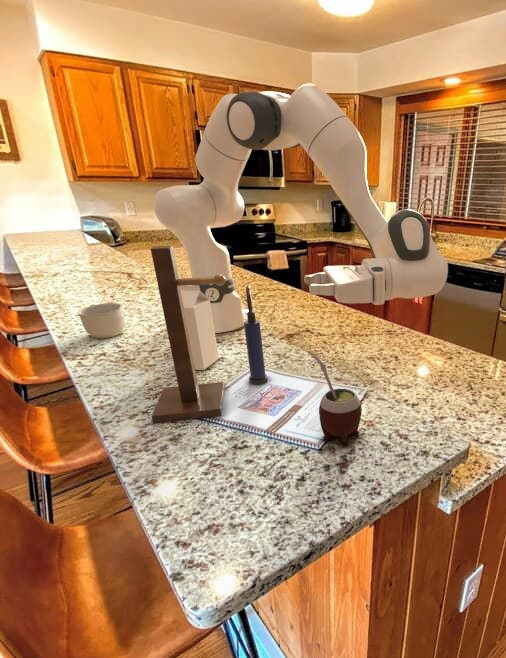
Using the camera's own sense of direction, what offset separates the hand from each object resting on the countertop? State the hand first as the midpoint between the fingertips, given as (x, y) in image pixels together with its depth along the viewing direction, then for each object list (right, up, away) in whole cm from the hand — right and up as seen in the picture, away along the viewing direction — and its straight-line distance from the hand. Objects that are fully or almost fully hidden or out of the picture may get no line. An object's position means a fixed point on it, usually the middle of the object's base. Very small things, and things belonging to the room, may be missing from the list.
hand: (306, 284), depth 87 cm
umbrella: (-11, -20, +6) cm, 24 cm away
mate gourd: (+7, -29, -14) cm, 33 cm away
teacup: (-62, -7, +36) cm, 72 cm away
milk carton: (-28, -16, +15) cm, 36 cm away
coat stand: (-21, -24, -3) cm, 32 cm away
